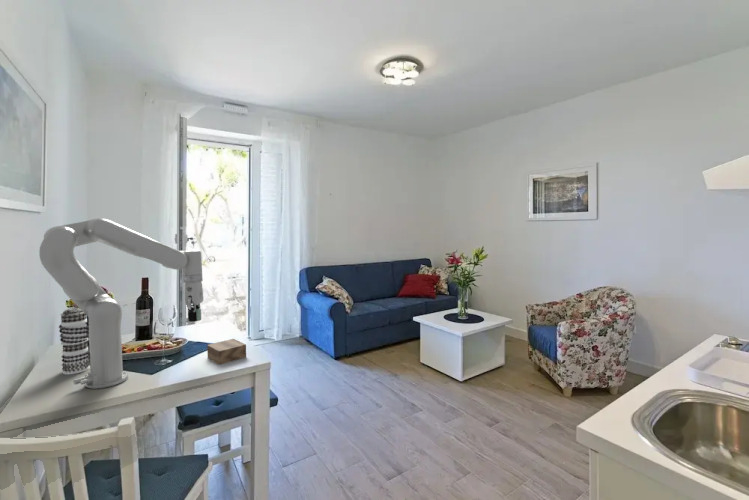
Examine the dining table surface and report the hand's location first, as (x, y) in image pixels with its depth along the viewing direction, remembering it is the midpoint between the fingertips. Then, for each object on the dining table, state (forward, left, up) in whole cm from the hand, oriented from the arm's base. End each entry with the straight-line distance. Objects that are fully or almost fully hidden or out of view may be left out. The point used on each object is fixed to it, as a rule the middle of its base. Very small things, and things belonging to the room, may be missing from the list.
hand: (194, 318), depth 152 cm
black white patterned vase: (-34, +28, -18) cm, 47 cm away
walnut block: (+9, -9, -18) cm, 22 cm away
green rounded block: (0, 0, -1) cm, 1 cm away
